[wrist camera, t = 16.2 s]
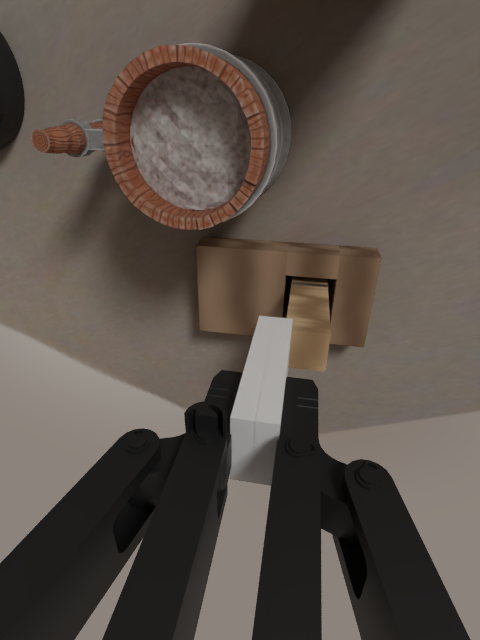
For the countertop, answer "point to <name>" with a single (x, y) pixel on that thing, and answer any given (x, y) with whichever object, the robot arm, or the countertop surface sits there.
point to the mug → (186, 134)
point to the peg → (309, 323)
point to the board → (282, 284)
